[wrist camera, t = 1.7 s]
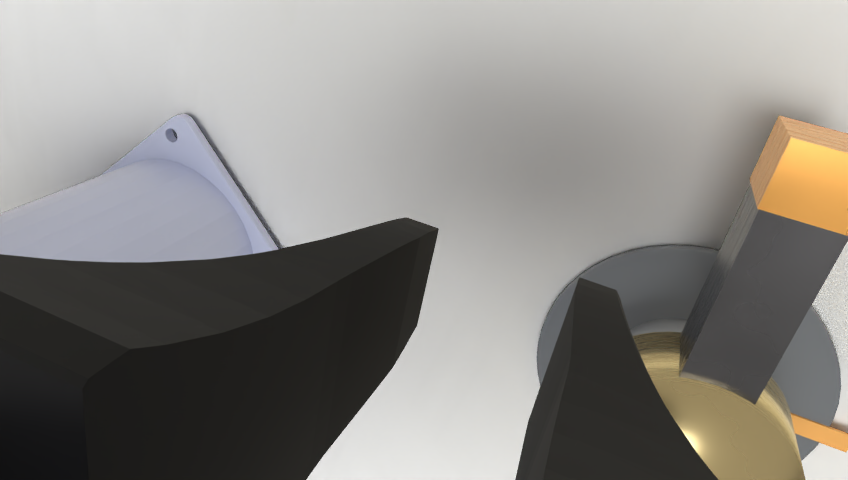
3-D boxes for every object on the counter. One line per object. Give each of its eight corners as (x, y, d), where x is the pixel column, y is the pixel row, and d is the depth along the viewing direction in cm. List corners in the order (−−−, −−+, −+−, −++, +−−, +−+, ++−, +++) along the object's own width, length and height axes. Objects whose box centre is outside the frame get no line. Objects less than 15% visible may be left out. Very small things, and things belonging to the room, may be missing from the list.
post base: (613, 505, 24) (606, 556, 22) (492, 305, 23) (473, 340, 21) (888, 449, 20) (911, 508, 18) (759, 196, 18) (768, 227, 16)
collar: (738, 533, 20) (744, 601, 18) (547, 454, 21) (532, 508, 19) (968, 164, 14) (1017, 200, 12) (688, 90, 15) (687, 111, 13)
